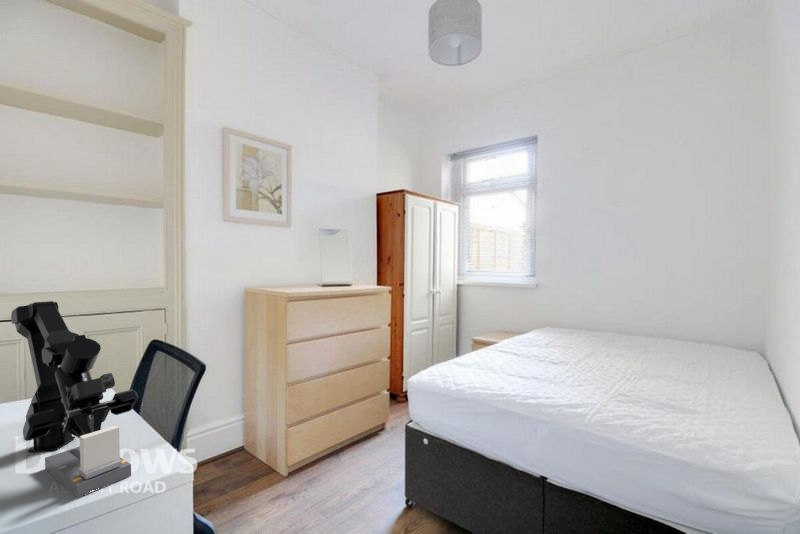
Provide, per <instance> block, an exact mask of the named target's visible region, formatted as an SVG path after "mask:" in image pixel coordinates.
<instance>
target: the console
mask: <svg viewBox="0 0 800 534" xmlns="http://www.w3.org/2000/svg"><path fill="white" fill-rule="evenodd" d="M120 460H122V465H121V466H119V467H116V468H114V469H111V470H109V471H106V472H104V473H101V474H98V475H96V476H93V477H91V478H88V479H85V478H84V477H83V476H81V475H80V474H79V468H80V445H79V446H77V447H73V448H70V449H68V450H65V451H61V452H58V453H55V454H52V455H50V456H49V455H48V456H46V457H44V469H45V470H46V471H47V472H48V473H49V474H50V475H52V477H53V478H54V479H56V481H58V482H59V483H60V484H61V485H62V486H64V488H65V489H67V491H69V492H70V493H71V494H72V495H74V497H75V498H77V499H79V498H81V496H82V497H84V496H86V495H85V494H87V493H89V492H90V491H92V490H96V489H98V488H101V487H103V488H105V487H104V486H106V487H108V486H110V485H113V484H115V483H117V482H116V481H118V482H120V481H122V480H124V479H127V478H129V477H132V464H131V463H130V462H129V461H126V460H125V459H124V458H122V457H120ZM119 480H120V481H119ZM114 482H115V483H114ZM112 483H113V484H112ZM109 484H110V485H109ZM107 485H108V486H107ZM101 489H102V488H101ZM96 491H97V490H96ZM89 494H90V493H89ZM83 495H84V496H83ZM87 495H88V494H87Z"/></svg>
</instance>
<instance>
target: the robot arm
mask: <svg viewBox="0 0 800 534" xmlns="http://www.w3.org/2000/svg"><path fill="white" fill-rule="evenodd" d="M10 321H11V324H12V325H14V326H15V329H16V332H17V334H19V335H21V336H23V338H25V339H26V340H27V345H28V349H29V354H30V357H31V358H30V359H31V364H32V367H33V368H32V369H33V372H34V378H35V382H36V387H37V389H36V391H35V392H34V395H33V397H32V398H31V400H30V404H29V406H28V409H27V412H26V415H25V422H24V425H23V428H22V435H23V438H24V439H23V440H24V441H27V442H28V441H31V440H33V446H31V447H30V448H29V449H27V452H28V453H31V452H34V451H35V452H46V451H56V450H58V449H59V450H60V448H62V447H65V446H66V445H67V444H68V443H70V442H72V441H74V440H75V439H76V438H78V439H80V436H83V435H86V434H89V433H92V432H95V431H99V430H102V429H101V428H102V423H104V422H105V421H106V419H107V418H108V415H109V413H111V415H112V414H113V415H116V416H117V415H121V414H125V413H128V412H130V411H132V410H133V409H134V407H135V406H136V403H137V401H138V399H140V398H139V397H140V396H139V394H138V392H137V391H136V390H134V389H129V390H124V391H120V392H116V393H114V396H113V397H112V399H111V400H109V401H105V402H104V401H103V402H101V401H102V400H103V399H104V393H107V390H109V389H112V388H113V387H115V386H116V381H115V377H114V374H113V373H112V372H108V373H105V374H104V373H103V374H102V375H101V376H99V377H98V378H93V379H92V376H91V373H90V370H92V369H93V368H94V366H95V363H96V361H97V359H98V357H99V355H100V353H101V352H100V351H101V345H100V343H98V341H96V340H94V339H92V338H87V336H86V334H81V335H80V334H79V333H76V332H73V331H71V330H70V329H69V327H68V326H67V324H66V322H65V320H64V319H63V316H62V314H61V313H60V311H59V304H58V302H57V301H53V300H49V301H48V300H47V301H35V302H33V303H29V304H27V305H20V306H19V305H18V306H17V307H15V308H14V309H13V310H12V311H11V314H10ZM99 400H100V401H99ZM87 416H89V417H90V421H89V423H88V421H87Z"/></svg>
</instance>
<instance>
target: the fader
mask: <svg viewBox="0 0 800 534" xmlns="http://www.w3.org/2000/svg"><path fill="white" fill-rule="evenodd" d="M79 446H80V468H79V474H80V475H81V476H83V477H84V478H85V479H88V478H91V477H93V476H96V475H98V474H101V473H104V472H106V471H109V470H111V469H114V468H116V467H119V466H121V465H122V460H120V458H121V457H120V456H121V454H120V451H121V450H120V447H121V446H120V427H119V426H118V425H112V426H108V427H105V428H102V429H101V430H99V431H95V432H92V433H89V434H86V435H83V436H80V438H79Z"/></svg>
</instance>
